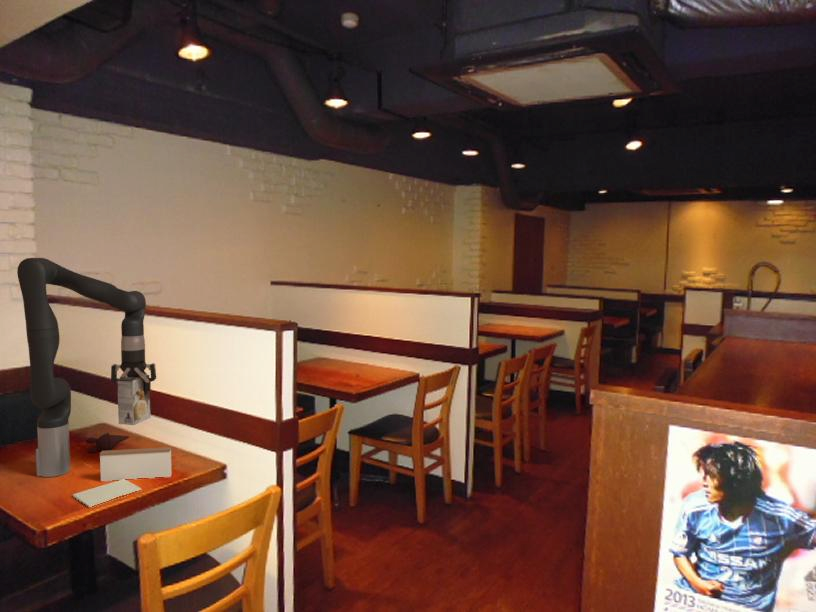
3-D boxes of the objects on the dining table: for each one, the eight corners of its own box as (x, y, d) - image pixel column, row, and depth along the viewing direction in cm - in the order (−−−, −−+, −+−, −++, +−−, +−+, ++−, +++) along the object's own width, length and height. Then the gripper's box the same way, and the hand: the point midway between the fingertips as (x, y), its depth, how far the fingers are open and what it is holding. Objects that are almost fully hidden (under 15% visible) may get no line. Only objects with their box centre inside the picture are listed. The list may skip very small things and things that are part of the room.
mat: (89, 508, 168) (88, 505, 168) (72, 496, 175) (72, 494, 175) (141, 490, 180) (141, 488, 180) (124, 481, 188) (124, 478, 187)
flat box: (100, 482, 186) (99, 453, 186) (103, 479, 189) (101, 450, 188) (170, 477, 191) (169, 449, 190) (171, 474, 194) (170, 446, 193)
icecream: (127, 427, 224) (84, 437, 216) (128, 428, 218) (85, 437, 210) (129, 444, 223) (87, 454, 215) (131, 445, 217) (88, 456, 209)
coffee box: (135, 416, 201) (134, 373, 200) (151, 418, 200) (150, 374, 198) (117, 424, 192) (116, 379, 191) (134, 425, 191) (133, 380, 189)
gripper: (107, 350, 188) (109, 396, 190) (152, 349, 192) (153, 395, 193) (114, 346, 196) (115, 391, 197) (157, 345, 199) (158, 389, 200)
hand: (134, 393), depth 195 cm, fingers closed on coffee box, 8 cm apart
